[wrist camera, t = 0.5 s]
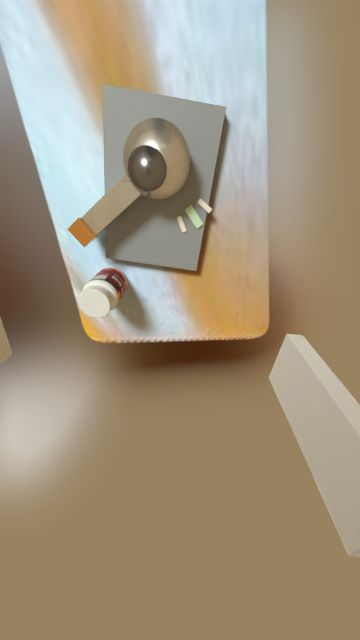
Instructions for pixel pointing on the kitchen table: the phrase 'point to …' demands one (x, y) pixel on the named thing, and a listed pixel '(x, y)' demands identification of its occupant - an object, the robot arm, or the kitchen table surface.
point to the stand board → (173, 212)
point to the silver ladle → (140, 175)
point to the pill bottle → (103, 292)
